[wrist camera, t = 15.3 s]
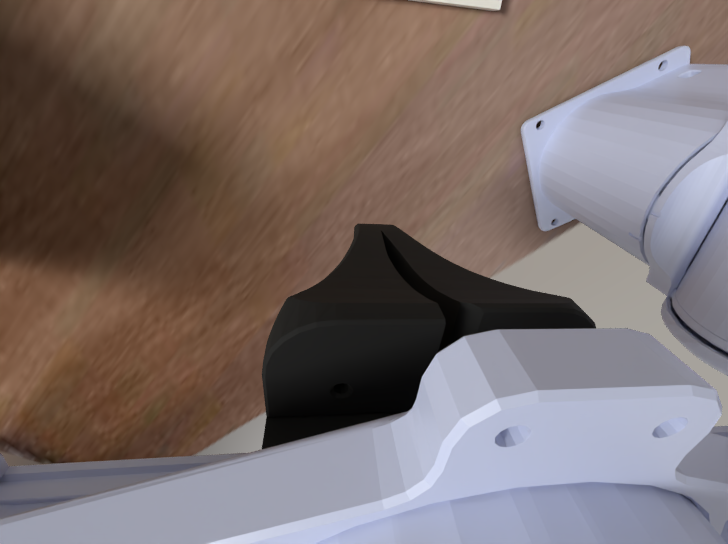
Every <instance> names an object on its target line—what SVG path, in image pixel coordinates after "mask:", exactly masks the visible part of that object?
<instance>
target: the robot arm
mask: <svg viewBox="0 0 728 544" xmlns="http://www.w3.org/2000/svg"><path fill="white" fill-rule="evenodd" d="M690 53H691V52H690V48H689V47H688V46H679V47H676V48H674V49H672V50H670V51H668V52H666V53H664V54H662V55H660V56H658V57H656V58H654V59H651V60H649V61H647V62H645V63H643V64H641V65H639V66H637V67H635V68H633V69H631V70H629V71H627V72H625V73H623V74H621V75H619V76H617V77H615V78H613V79H611V80H608V81H606V82H604V83H602V84H600V85H598V86H596V87H594V88H592V89H590V90H588V91H586V92H584V93H582V94H580V95H578V96H576V97H574V98H572V99H570V100H568V101H565V102H563V103H561V104H559V105H557V106H555V107H553V108H551V109H549V110H547V111H545V112H543V113H541V114H539V115H537V116H535V117H533V118H531V119H529V120H527V121H525V122H524V124H523V125H522V127H521V135H522V141H523V146H524V151H525V157H526V162H527V168H528V173H529V178H530V184H531V189H532V195H533V200H534V205H535V211H536V216H537V222H538V226H539V228H540V229H541V230H543V231H549V230H551V229H553V228H556V227H558V226H560V225H563V224H565V223H567V222H570V221H572V220H574V219H577V220H578V221H580V222H581V223H583V224H585V225H586V226H588V227H589V228H591V229H592V230H594V231H596V232H597V233H599V234H600V235H602V236H604V237H605V238H607V239H608V240H610V241H611V242H613V243H615V244H616V245H618V246H619V247H621V248H622V249H624V250H625V251H627V252H629V253H630V254H632V255H633V256H635V257H636V258H638V259H639V260H641V261H643V262H644V263H646V264H647V265H649V266H650V270H649V275H648V277H647V280H646V282H648V283H649V284H650V285H652V286H653V287H655V288H656V289H658V290H659V291H661V292H662V293H663V294H665V295H666V296H667V298H666V299H665V301H664V302H663V304H662V309H661V315H662V319H663V321H664V323H665V325H666V327H667V328H668V329H669V331H670V332H671V333H672V334H673V336H674V337H675V338H676V339H677V340H678V341H680V343H681V344H683V346H684V347H686V348H687V349H688V350H689V351H690V352H691V353H692V354H693V355H695V356H696V357H698V358H699V359H700V360H702V361H703V362H704V363H706V364H708V365H709V366H711V367H712V368H714V369H716V370H717V371H719V372H721V373H723V374H725V375H727V376H728V64H690ZM661 62H662V66H661V67H660V69H658V67H659V65H660V63H661ZM539 121H541V125H540V127H538V128H537V129H536V124H537V122H539ZM554 219H555V221H554V222H553V223H551V222H552V220H554ZM262 379H263V388H264V397H265V406H266V415H267V419H266V425H265V433H264V438H263V445H262V450H258V451H255V452H251V453H238V454H219V455H201V456H184V457H166V458H148V459H130V460H113V461H95V462H77V463H59V464H42V465H24V466H8V464H7V462H6V460H5V459H4V457H3V455H2V454H1V453H0V544H728V426H717V427H714V425H715V424H716V422H717V421H718V419H719V418H720V416H721V414H722V405H721V402H720V399H719V396H718V393H717V391H716V389H715V388H713V387H712V386H711V385H710V384H709V383H707V382H706V381H705V380H704V379H703V378H701V377H700V376H699V375H698V374H697V373H696V372H694V371H693V370H692V369H691V368H690V367H688V366H687V365H686V364H685V363H684V362H682V361H681V360H680V359H679V358H678V357H676V356H675V355H674V354H673V353H672V352H671V351H669V350H668V349H667V348H666V347H665V346H663V345H662V344H661V343H660V342H659V341H657V340H656V339H655V338H654V337H653V336H652V335H650V334H647V333H643V332H640V331H636V330H632V329H628V328H602V329H596V326H595V323H594V322H593V320H592V319H591V318H590V317H589V316H588V315H587V314H586V313H585V312H584V311H583V310H582V309H581V308H580V307H579V306H578V305H577V304H576V303H575V302H574V301H573V300H572V299H570V298H567V297H561V296H557V295H551V294H547V293H541V292H536V291H531V290H527V289H524V288H519V287H516V286H512V285H508V284H505V283H502V282H499V281H496V280H493V279H490V278H487V277H484V276H482V275H479V274H476V273H474V272H471V271H469V270H467V269H464V268H462V267H460V266H458V265H456V264H454V263H452V262H450V261H448V260H446V259H444V258H443V257H441V256H439V255H438V254H436V253H434V252H432V251H431V250H429V249H428V248H426V247H425V246H423V245H422V244H420V243H419V242H417V241H416V240H415V239H413V238H412V237H410V236H409V235H408V234H406V233H405V232H403V231H402V230H400V229H399V228H397V227H396V226H394V225H382V224H357V225H356V226H355V228H354V239H353V242H352V244H351V246H350V248H349V250H348V252H347V253H346V255H345V257H344V258H343V260H342V261H341V262H340V264H339V265H338V266H337V267H336V268H335V269H334V270H333V271H332V272H331V273H330V274H329V275H328V276H327V277H326V278H325V279H324V280H322V281H321V282H319V283H318V284H316V285H314V286H313V287H311V288H309V289H307V290H305V291H302V292H300V293H298V294H295V295H293V296H290V297H288V298H287V299H286V301H285V303H284V305H283V306H282V308H281V310H280V312H279V314H278V316H277V318H276V320H275V323H274V325H273V327H272V330H271V333H270V335H269V338H268V341H267V345H266V349H265V355H264V360H263V369H262Z"/></svg>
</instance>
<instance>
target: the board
mask: <svg viewBox="0 0 728 544" xmlns="http://www.w3.org/2000/svg"><path fill="white" fill-rule="evenodd" d="M410 1H418V2H426V3H434V4H442V5H450V6H458V7H466V8H474V9H482V10H490V11H497V10H500V7H501V3H502V0H410Z"/></svg>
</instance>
